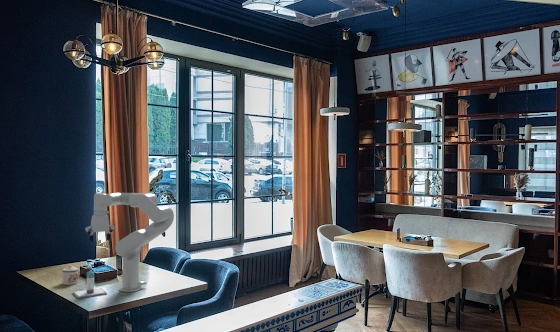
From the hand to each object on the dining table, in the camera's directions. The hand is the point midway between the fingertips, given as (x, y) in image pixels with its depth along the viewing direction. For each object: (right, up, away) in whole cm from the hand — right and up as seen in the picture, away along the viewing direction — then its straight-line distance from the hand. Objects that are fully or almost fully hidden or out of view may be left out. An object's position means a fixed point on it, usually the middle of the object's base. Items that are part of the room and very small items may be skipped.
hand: (99, 240), depth 287 cm
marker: (+1, -28, -16) cm, 32 cm away
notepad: (0, -29, -15) cm, 32 cm away
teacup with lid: (-20, -28, +7) cm, 35 cm away
